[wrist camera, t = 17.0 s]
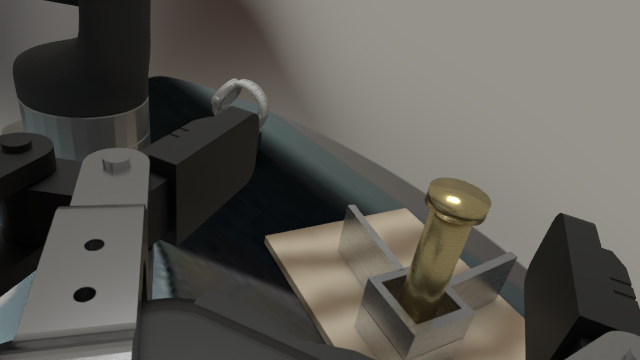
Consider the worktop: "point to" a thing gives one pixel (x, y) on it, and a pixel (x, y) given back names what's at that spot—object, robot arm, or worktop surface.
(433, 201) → the hinge pin
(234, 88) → the watch
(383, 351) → the hinge
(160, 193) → the robot arm
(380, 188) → the worktop surface
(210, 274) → the worktop surface
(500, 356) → the board
